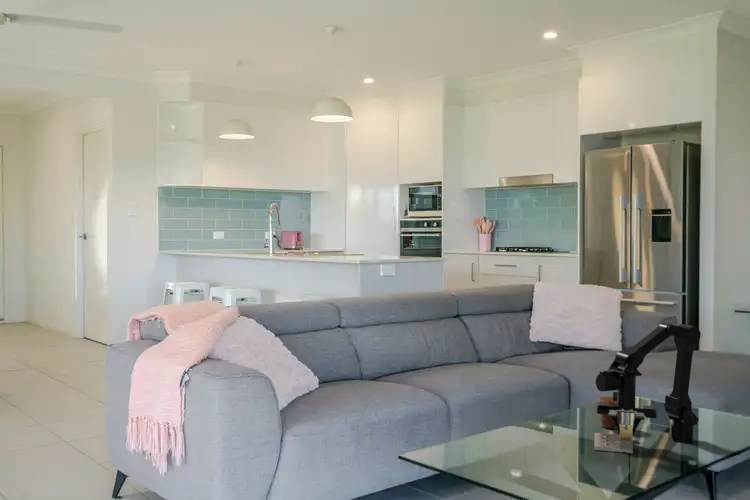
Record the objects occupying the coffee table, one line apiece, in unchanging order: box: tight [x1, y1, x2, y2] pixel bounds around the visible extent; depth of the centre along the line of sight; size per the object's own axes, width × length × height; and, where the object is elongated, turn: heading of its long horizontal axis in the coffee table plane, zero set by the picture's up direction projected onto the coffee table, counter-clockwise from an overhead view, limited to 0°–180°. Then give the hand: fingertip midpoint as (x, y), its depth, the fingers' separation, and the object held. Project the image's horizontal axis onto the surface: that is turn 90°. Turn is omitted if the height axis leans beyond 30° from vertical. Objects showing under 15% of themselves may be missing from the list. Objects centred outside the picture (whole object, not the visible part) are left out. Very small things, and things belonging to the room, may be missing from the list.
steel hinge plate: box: [593, 432, 634, 454], centre depth 248 cm, size 12×16×3 cm
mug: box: [598, 395, 623, 430], centre depth 267 cm, size 12×9×10 cm
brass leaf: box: [619, 423, 634, 441], centre depth 247 cm, size 4×6×4 cm, turn 163°
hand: (625, 435), depth 247 cm, fingers closed on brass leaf, 4 cm apart
